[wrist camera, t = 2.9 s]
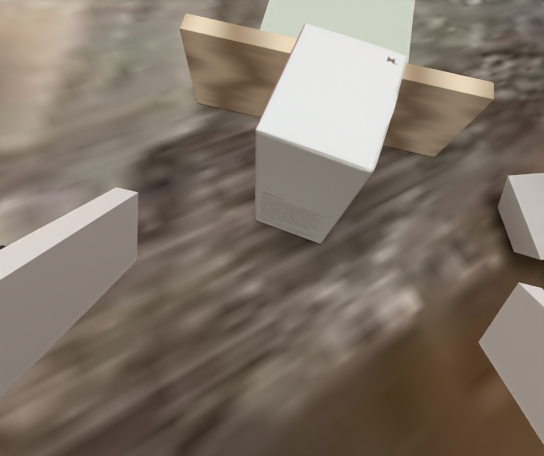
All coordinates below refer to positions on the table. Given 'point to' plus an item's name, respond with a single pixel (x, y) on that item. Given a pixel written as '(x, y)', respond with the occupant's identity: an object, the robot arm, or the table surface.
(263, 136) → the small box
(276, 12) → the display plate
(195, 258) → the table surface
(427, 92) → the wooden screen
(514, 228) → the figurine
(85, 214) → the robot arm
